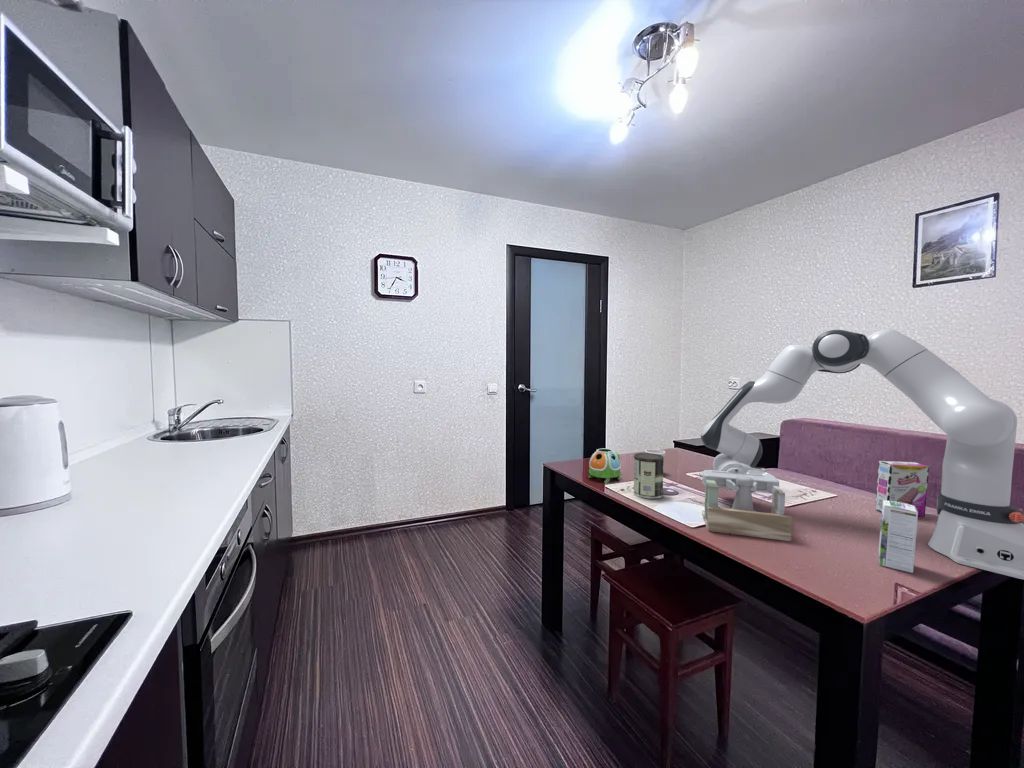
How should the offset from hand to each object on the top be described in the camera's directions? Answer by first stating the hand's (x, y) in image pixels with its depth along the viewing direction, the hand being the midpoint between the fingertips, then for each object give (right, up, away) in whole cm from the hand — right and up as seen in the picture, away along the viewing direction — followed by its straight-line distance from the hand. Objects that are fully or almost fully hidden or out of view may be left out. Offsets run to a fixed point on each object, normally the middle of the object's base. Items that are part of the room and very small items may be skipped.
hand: (744, 488), depth 112 cm
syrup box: (+24, -13, -20) cm, 34 cm away
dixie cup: (-5, -9, +56) cm, 57 cm away
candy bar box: (+57, -11, +12) cm, 59 cm away
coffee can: (-17, -10, +30) cm, 36 cm away
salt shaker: (0, -10, +2) cm, 10 cm away
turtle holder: (-28, -9, +51) cm, 58 cm away
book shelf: (0, -12, +1) cm, 12 cm away
